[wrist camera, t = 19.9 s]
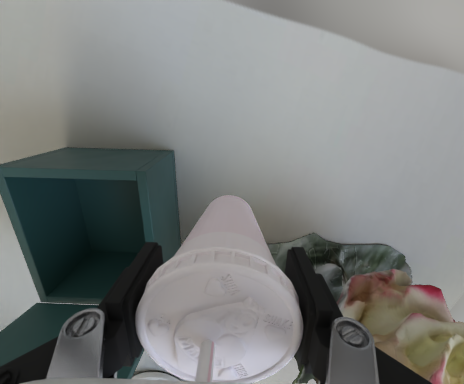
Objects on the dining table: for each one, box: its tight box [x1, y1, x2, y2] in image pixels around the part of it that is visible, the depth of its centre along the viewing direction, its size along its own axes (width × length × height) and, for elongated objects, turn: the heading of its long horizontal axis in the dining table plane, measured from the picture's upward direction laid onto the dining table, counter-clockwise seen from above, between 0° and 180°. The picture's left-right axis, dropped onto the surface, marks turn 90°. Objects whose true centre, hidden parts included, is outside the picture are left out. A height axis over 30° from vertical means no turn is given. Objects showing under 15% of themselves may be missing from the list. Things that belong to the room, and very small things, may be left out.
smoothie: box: [135, 195, 303, 384], centre depth 11 cm, size 6×6×14 cm
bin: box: [0, 148, 181, 304], centre depth 27 cm, size 16×14×9 cm
